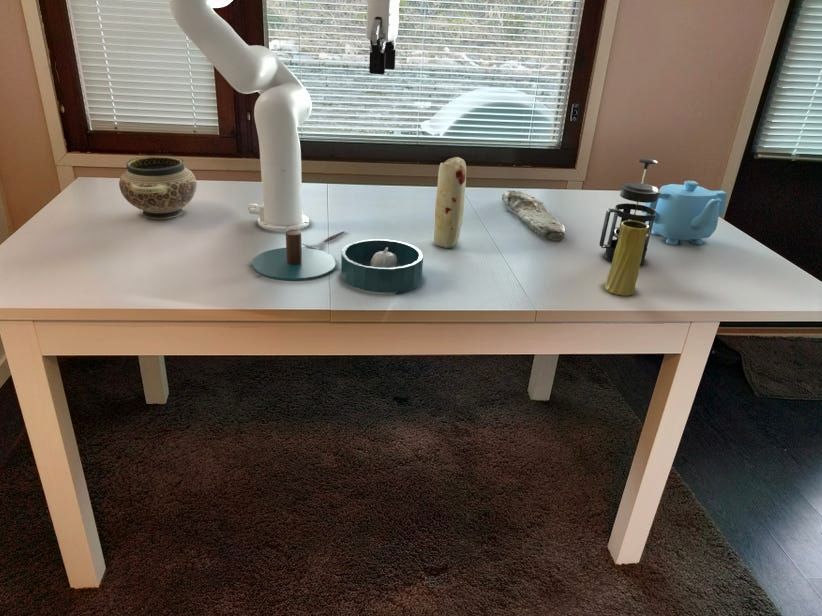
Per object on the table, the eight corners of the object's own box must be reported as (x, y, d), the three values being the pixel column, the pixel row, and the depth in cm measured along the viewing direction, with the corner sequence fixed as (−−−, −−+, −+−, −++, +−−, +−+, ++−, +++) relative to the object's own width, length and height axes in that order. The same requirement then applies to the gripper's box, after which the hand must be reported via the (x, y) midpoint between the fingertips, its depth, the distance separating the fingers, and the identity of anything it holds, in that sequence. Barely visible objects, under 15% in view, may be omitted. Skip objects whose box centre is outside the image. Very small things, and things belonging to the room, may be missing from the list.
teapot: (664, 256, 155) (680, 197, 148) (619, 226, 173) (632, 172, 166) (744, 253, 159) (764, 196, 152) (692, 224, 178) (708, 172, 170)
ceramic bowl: (152, 208, 175) (130, 152, 168) (215, 194, 174) (195, 138, 166) (121, 240, 154) (93, 178, 146) (192, 225, 153) (168, 161, 145)
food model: (461, 252, 151) (470, 165, 140) (432, 250, 151) (439, 163, 140) (459, 238, 159) (468, 154, 149) (432, 236, 159) (439, 152, 149)
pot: (331, 288, 129) (331, 262, 127) (353, 259, 143) (353, 235, 141) (412, 299, 127) (414, 273, 124) (427, 268, 141) (429, 244, 138)
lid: (238, 277, 132) (235, 241, 128) (271, 247, 147) (269, 215, 143) (321, 288, 129) (320, 252, 125) (345, 257, 144) (346, 224, 140)
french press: (638, 252, 156) (662, 155, 145) (654, 267, 148) (681, 165, 137) (590, 251, 155) (611, 153, 144) (604, 266, 147) (627, 163, 136)
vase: (600, 284, 138) (614, 219, 131) (627, 284, 139) (643, 219, 132) (610, 296, 133) (626, 229, 126) (639, 296, 134) (656, 229, 126)
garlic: (384, 265, 140) (385, 242, 137) (402, 272, 137) (404, 249, 134) (364, 272, 136) (364, 248, 134) (382, 280, 133) (383, 256, 130)
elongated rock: (535, 246, 160) (572, 248, 162) (540, 226, 157) (578, 228, 159) (492, 197, 188) (524, 199, 190) (496, 179, 185) (528, 181, 188)
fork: (349, 234, 157) (349, 226, 156) (311, 254, 145) (311, 245, 144) (340, 232, 158) (340, 224, 157) (301, 251, 146) (301, 243, 145)
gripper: (377, -22, 138) (375, 66, 147) (355, -23, 123) (354, 74, 132) (411, -20, 137) (407, 68, 146) (394, -21, 122) (390, 77, 131)
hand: (382, 71), depth 139 cm, fingers open, 9 cm apart
